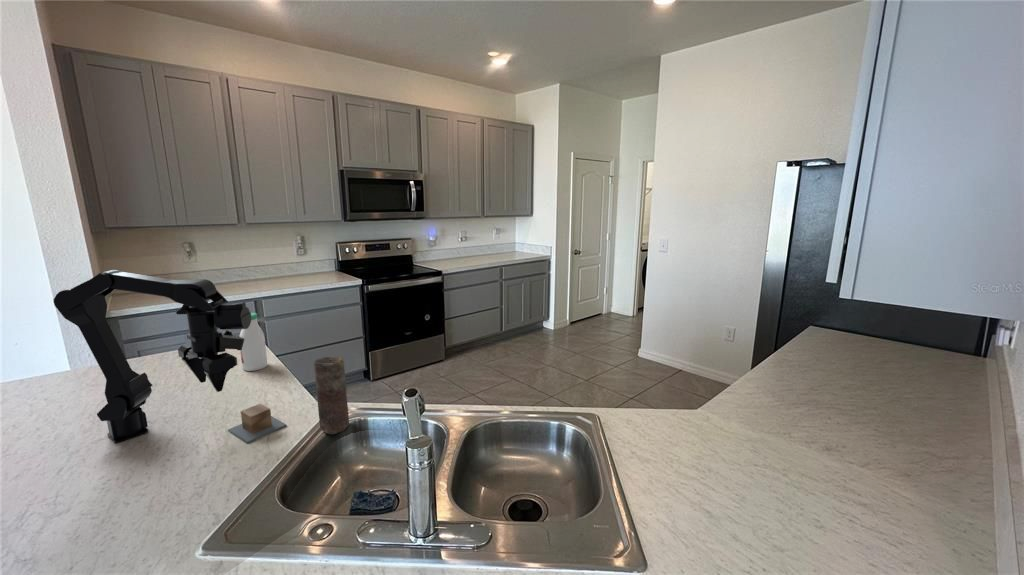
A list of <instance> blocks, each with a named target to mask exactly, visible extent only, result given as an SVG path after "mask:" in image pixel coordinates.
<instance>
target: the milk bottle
mask: <svg viewBox="0 0 1024 575" xmlns="http://www.w3.org/2000/svg"><path fill="white" fill-rule="evenodd" d="M250 313H251V323H250V326H249V327H248V328H247V329H240V330H241V331H240V333H239V337H242V338H244V339H245V340H244V343H243V347H242V350H239V351H240V352H239V353H240V359H241V367H242V370H244V371H246V372H253V371H260V370H263V369H265V368H267V366H268V357H267V347H266V346H267V345H266V341H265V340H266V339H265V333H264V331H263V329H262V327H261V326H260V325H259V323H258V313H257V312H250Z"/></svg>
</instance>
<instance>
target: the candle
mask: <svg viewBox="0 0 1024 575" xmlns="http://www.w3.org/2000/svg"><path fill="white" fill-rule="evenodd" d="M313 367H314V375H315V376H314V377H315V385H316V397H317V410H318V420H319V422H318V423H319V428H320V430H321V431H322V432H324V433H326V434H328V435H335V434H338V433H340V432H341V433H342V432H343V431H344V430H345V429H346V428H347V427H348V426H349V425H350V415H349V414H350V413H349V406H348V397H347V396H348V395H347V386H346V385H347V384H346V372H345V361H344V358H343V356H340V357H338V356H335V357H334V356H324V357H321V358H318V359H315V360H313Z"/></svg>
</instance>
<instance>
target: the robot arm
mask: <svg viewBox="0 0 1024 575" xmlns="http://www.w3.org/2000/svg"><path fill="white" fill-rule="evenodd" d="M116 290H118V291H125V292H132V293H137V294H143V295H144V294H145V295H151V296H158V297H164V298H167V299H170V300H172V302H175V303H176V304H177V303H178V304H181V305H182V306H181V307H180V309H178V310H177V311H176V312H175V314H176V315H186V319H187V325H188V332H189V333H186V339H187V340H189V341H190V343H187V344H181V345H180V347H179V348H178V349H177V353H178V357H179V358H181V361H182V362H183V363H184V364H185V366H187V368H189V370H190V371H191V372H192V373H193V375H194V376H195V377H196V378H197V379H198V381H199V382H200V383H201V384H203V383H205V382H206V381H207V378H208V381H209V382H210V384H211V385H212V387H213V388H214V390H215V391H216V393H219V392H222V391H223V388H224V385H225V380H226V376H227V373H228V372H229V371H230V370H232V369H234V368H235V367H236V366H238V358H237V357H236V356H235V355H233V354H230V353H228V352H226V350H237V351H240V350H242V347H243V343H244V340H245V339H244V338H242V337H240V335H239V336H238V335H235V334H233V332H232V331H230V330H242V329H247V328H248V327H249V326H250V323H251V313H252V312H250V309H249V308H248V306H247V305H246V302H242V301H241V302H230V303H229V301H228V300H227V299H226V298H225V297H224V296H223V295H222V293H221V292H219V291H218V289H217V288H216V286H215V284H214V283H213V281H211V280H209V279H204V278H187V279H170V278H164V277H157V276H153V275H152V276H151V275H145V274H138V273H133V272H127V271H121V270H119V269H111V270H107V271H101V272H99V273H97V274H96V275H95V276H93V277H92V278H90V279H87V281H84V282H82V283H81V284H78V285H76V286H74V287H70V288H67V289H64V290H61V291H59V292H58V293H56V295H55V296H54V298H53V300H52V301H53V305H54V307H55V308H56V309H57V311H58V312H59V313H60V314H61V315H62V317H63V318H64V319H65V320H66V321H68V322H70V323H71V324H74V325H76V327H77V328H78V329H79V331H80V332H81V335H82V336H83V339H84V340H85V342H86V344H87V345H88V346H87V347H88V348H89V350H90V351H91V353H92V355H93V357H94V359H95V361H96V363H97V364H98V367H99V368H100V371H101V372H102V374H103V376H104V378H105V380H106V382H105V388H104V396H105V399H106V404H105V405H103V407H102V408H101V409H100V410H99V411H98V412H97V413H96V416H97V418H98V419H99V420H100V421H101V422H106V424H107V429H108V432H107V435H106V436H107V437H108V438H110V440H111V441H112V442H113V443H115V444H118V443H121V442H124V441H126V440H129V439H132V438H135V437H139V436H140V435H143V434H145V433H146V434H147V433H148V432H149V429H148V426H149V425H148V420H147V414H146V412H145V411H144V410H143V408H142V406H143V405H145V404H146V403H147V399H148V398H150V396H151V393H152V391H153V390H152V387H153V385H154V384H152V382H151V381H150V380H149V377H148V374H147V373H146V372H143V373H138V372H136V371H134V370H133V369H132V367H131V366H130V364H129V362H128V359H127V358H126V356H125V354H124V352H123V350H122V348H121V346H120V344H119V342H118V340H117V338H116V336H115V335H114V333H113V330H112V328H111V326H110V324H109V322H108V321H107V318H106V317H107V310H108V302H107V299H106V297H108V296H109V295H110V294H112V293H113V292H114V291H116ZM218 328H219V330H221V331H218Z"/></svg>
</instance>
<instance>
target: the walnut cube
mask: <svg viewBox="0 0 1024 575" xmlns="http://www.w3.org/2000/svg"><path fill="white" fill-rule="evenodd" d="M271 416H272V412H271V408H270V407H268V406H266V405H264V404H262V403H258V404H256V405H252V406H249V407H248V408H245V409H242V410H240V417H241V424H242V426H243V429H245V430H246V431H248V432H250V433H251V434H254V433H256V432H259V431H261V430H263V429H266V428H268V427H270V426H272V420H271Z"/></svg>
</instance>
